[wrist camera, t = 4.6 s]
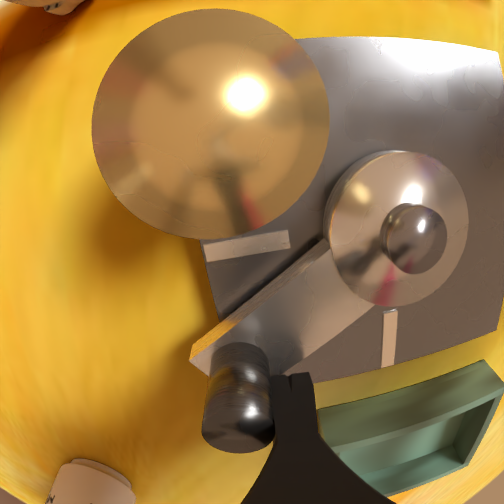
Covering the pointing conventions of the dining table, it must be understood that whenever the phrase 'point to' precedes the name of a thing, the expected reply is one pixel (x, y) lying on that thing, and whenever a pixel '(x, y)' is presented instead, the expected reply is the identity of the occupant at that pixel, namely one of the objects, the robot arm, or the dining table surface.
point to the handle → (51, 5)
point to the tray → (414, 428)
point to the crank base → (400, 139)
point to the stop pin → (210, 124)
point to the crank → (333, 286)
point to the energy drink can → (90, 485)
